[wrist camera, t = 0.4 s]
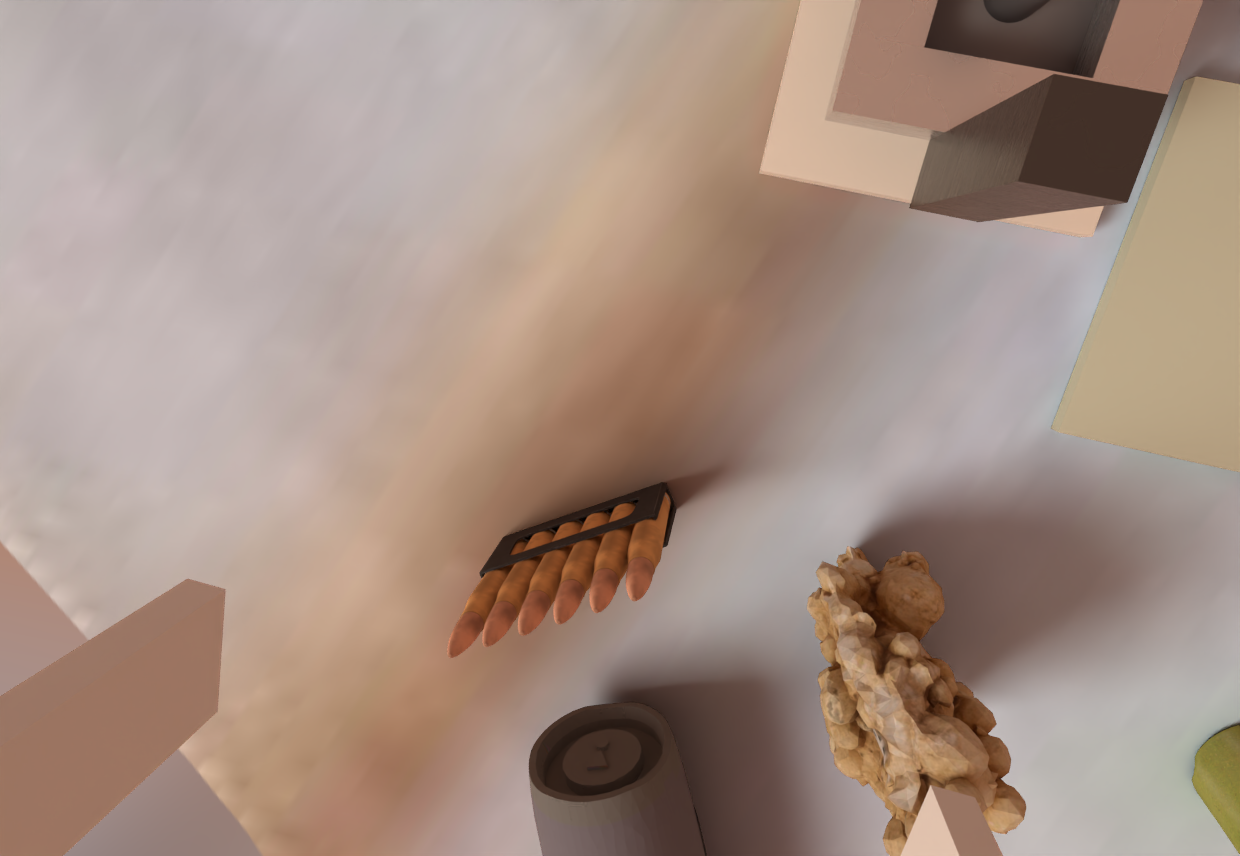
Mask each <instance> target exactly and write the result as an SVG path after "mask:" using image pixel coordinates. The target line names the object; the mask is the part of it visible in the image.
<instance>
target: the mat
mask: <svg viewBox="0 0 1240 856" xmlns="http://www.w3.org/2000/svg"><path fill="white" fill-rule="evenodd" d="M1051 429H1053V430H1055V431H1057V432H1060V433H1064V434H1069V435H1073V436H1078V437H1083V438H1087V439H1092V440H1096V441H1101V442H1105V443H1110V444H1114V445H1119V446H1123V447H1128V448H1132V449H1137V450H1141V451H1146V452H1151V453H1155V454H1160V455H1164V456H1169V457H1173V458H1178V459H1182V460H1187V461H1191V462H1196V463H1200V464H1205V465H1209V466H1214V467H1219V468H1223V469H1228V470H1232V471H1237V472H1240V84H1236V83H1230V82H1225V81H1219V80H1213V79H1208V78H1202V77H1197V76H1196V77H1193V78H1190V79H1188V80H1185V81H1184V83H1183V86H1182V88H1181V91H1180V93H1179V96H1178V99H1177V101H1176V104H1175V106H1174V109H1173V112H1172V114H1171V117H1170V119H1169V122H1168V125H1167V127H1166V130H1165V132H1164V135H1163V138H1162V140H1161V143H1160V146H1159V148H1158V151H1157V153H1156V156H1155V159H1154V161H1153V164H1152V166H1151V169H1150V172H1149V174H1148V177H1147V179H1146V182H1145V185H1144V187H1143V190H1142V192H1141V195H1140V198H1139V200H1138V203H1137V205H1136V208H1135V211H1134V213H1133V216H1132V218H1131V221H1130V224H1129V226H1128V229H1127V231H1126V234H1125V237H1124V239H1123V242H1122V245H1121V247H1120V250H1119V252H1118V255H1117V258H1116V260H1115V263H1114V265H1113V268H1112V271H1111V273H1110V276H1109V278H1108V281H1107V284H1106V286H1105V289H1104V291H1103V294H1102V297H1101V299H1100V302H1099V304H1098V307H1097V310H1096V312H1095V315H1094V317H1093V320H1092V323H1091V325H1090V328H1089V330H1088V333H1087V336H1086V338H1085V341H1084V344H1083V346H1082V349H1081V351H1080V354H1079V357H1078V359H1077V362H1076V364H1075V367H1074V370H1073V372H1072V375H1071V377H1070V380H1069V383H1068V385H1067V388H1066V390H1065V393H1064V396H1063V398H1062V401H1061V403H1060V406H1059V409H1058V411H1057V414H1056V416H1055V419H1054V422H1053V424H1052V427H1051Z"/></svg>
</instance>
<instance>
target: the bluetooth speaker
mask: <svg viewBox="0 0 1240 856" xmlns="http://www.w3.org/2000/svg"><path fill="white" fill-rule="evenodd" d="M529 777H530V787H531V797H532V804H533V810H534V816H535V821H536V826H537V831H538V835H539V840H540V845H541V850H542V854H543V856H707V853H706V849H705V845H704V840H703V836H702V832H701V828H700V823H699V820H698V817H697V814H696V811H695V808H694V805H693V802H692V798H691V794H690V790H689V786H688V782H687V779H686V775H685V771H684V767H683V764H682V761H681V757H680V754H679V751H678V748H677V746H676V742H675V740H674V737H673V734H672V732H671V729H670V726H669V724H668V722H667V721H666V719H665V718H664V717H663V716H662V715H661V714H660V713H659V712H658V711H656V710H655V709H653V708H651V707H649V706H647V705H644V704H641V703H636V702H627V703H613V704H603V705H594V706H587V707H583V708H580V709H577V710H575V711H572V712H571V713H569V714H567V715H565V716H563V717H562V718H560V719H559V720H557V721H556V722H554V723H553V724H552V725H550V726H549V727H548V728H547V729H546V730H545V731H544V732H543V733H542V734H541V736H540V737H539V738H538V739H537V741H536V742H535V744H534V746H533V748H532V750H531V754H530V758H529Z"/></svg>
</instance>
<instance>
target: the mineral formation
mask: <svg viewBox="0 0 1240 856" xmlns="http://www.w3.org/2000/svg"><path fill="white" fill-rule="evenodd" d="M837 563H838V567H836V566H833V565H831V564H828V563H826V562H822V563H821V565H820V566H819V568H818V570H817V571H816V574H817V577H818V579H819V582H820V584H821V586H822V588H818V590H817V591H816V592H814V593H812V594H811V596H810V597H809V598H808V605H807V610H808V611H809V613H810V614H811V616H812V617H813V618H814V619H815V620H816V624H815V636H816V637H817V638H819V639H820V640H821V641H823V642H821V643H820V647H821V652H822V654H823V655H824V657H825V658H826V660H827V661H828V662H830V663H831V665H832V667H828V668H826V669H825V670H823V671H822V672H820V673H819V677H818V682H819V685H820V687H821V694H820V701H821V707H822V711H823V715H824V717H825V723H826V728H827V732H828V733H829V734H830V739H829V745H830V749H831V752H832V753H833V754H834V764H835V765H836V766H837V768H838V769H839V770H840V771H841V772H842V773H843V774H844V775H846V776H848V777H850V778H853V779H857V780H858V781H859V782H860V784H861V785H862V786H864V785H866V784H867V783H869V784H870V786H871V787H872V788H873V789H874V792H875V794H876V795H877V796H878V797H879V798H881V799H882V800H883V801H884V802H885V807H886V808H887V809H889V810H890V813H891V815H892V819H891V820H890V821H889V823H888V825H887V827H886V830H885V833H884V837H883V841H884V845H885V848H886V852H887V853H888V854H889V855H890V856H901V853H902V851H903V849H904V846H905V844H906V842H907V839H908V837H909V835H910V832H911V830H912V828H913V825H914V823H915V821H916V818H917V816H918V813H919V811H920V809H921V806H922V804H923V802H924V799H925V797H926V795H927V792H928V790H929V788H930V785H932V786H936V787H939V788H943V789H946V790H950V791H954V792H957V793H961V794H964V795H968V796H972V797H975V798H976V801H977V803H978V805H979V807H980V809H981V811H982V813H983V815H984V817H985V819H986V821H987V824H988V826H989V828H990V830H991V831H994V832H997V833H1001V834H1007V832H1008V831H1010V830H1013V829H1016V827H1017V826H1018V825H1019V824H1020V823H1021V822H1022V821H1023V820H1024V816H1025V811H1026V804H1025V801H1024V800H1023V798H1022V797H1021V795H1020V794H1019V793H1018V792H1017V791H1016V789H1015V788H1014V787H1012V786H1009V785H1007V784H1006V783H1005V782H1003V781H1002V780H1001V778H1002V777H1004V776H1005V775H1006V774H1007V773H1009V769H1010V764H1011V758H1010V755H1009V752H1008V748H1007V747H1006V745H1005V744H1004V743H1003V742H1002V741H1001V739H1000V738H997V737H993V736H990V735H988V733H989V732H990V731H991V730H992V729H993V728H994V727H995V725H996V721H995V718H994V716H993V713H992V712H991V711H990V710H989V709H988V708H987V707H985V706H984V705H983V704H982V703H981V702H980V701H979V700H978V699H977V698H974V696H973V692H972V691H971V690H969V689H968V688H967V687H966V686H965V685H963V684H962V683H961V682H955V678H954V674H953V672H952V670H951V669H950V667H949V665H948V664H947V663H946V662H944V661H943V660H941V659H936V658H932V657H931V656H930V655H929V654H928V653H927V652H926V651H925V649H924V648H923V647H922V645H921V643H920V640H921V639H922V638H923V637H924V636H925V635H926V633H927V632H928V630H929V628H930V627H931V626H932V625H933V624H934V623H936V622H937V621H938V620H939V619H940V617H941V616H942V615H943V613H944V598H943V596H942V588H941V587H940V586H939V585H938V584H937V583H936V582H935V581H934V580H933V579H932V577H930V576H929V564H928V563H927V561H926V560H925V558H924V557H923V556H922V555H921V554H920V553H919V552H918V551H917V552H906V551H902V554H901V556H895V557H892V558H890V559H888V561H887V562H886V564H885V566H884V568H883V570H882V571H879V572H878V571H877V570H876V569H875V568H873V567H872V566H871V565H870V564H869V562H868V560H867V558H866V557H865V555H864V553H863V552H862V550H861V549H859V548H855V549H854V548H852V547H847V551H846V554H842V555H839V556H838V559H837Z"/></svg>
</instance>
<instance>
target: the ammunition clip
mask: <svg viewBox="0 0 1240 856" xmlns="http://www.w3.org/2000/svg"><path fill="white" fill-rule="evenodd" d="M675 513H676V506H675V504H674V502H673V499H672V497H671V494H670V492H669V489H668V487H667V484H666V483H663V482H662V483H659V484H656V485H653V486H650V487H647V488H644V489H641V490H639V491H636V492H633V493H630V494H627V495H624V496H621V497H618V498H615V499H612V500H610V501H607V502H604V503H601V504H598V505H595V506H592V507H589V508H586V509H583V510H580V511H578V512H575V513H572V514H569V515H566V516H563V517H560V518H557V519H554V520H551V521H548V522H546V523H543V524H540V525H537V526H534V527H531V528H528V529H525V530H522V531H519V532H516V533H514V534H511V535H508V536H505V537H503V538H502V540H501V541H500V543H499V544H498V546H497V547H496V549H495V550H494V552H493V553H492V555H491V556H490V558H489V559H488V561H487V562H486V564H485V565H484V567H483V568H482V570H481V571H480V576H481V578H482V580H481V581H480V583H479V584H478V586H477V587H476V588H475V590H474V591H473V593H472V594H471V596H470V597H469V599H468V601H467V603H466V607H465V610H464V611H463V613H462V615H461V617H460V619H459V621H458V622H457V624H456V626H455V627H454V629H453V632H452V634H451V636H450V639H449V643H448V650H447V653H448V657H450V658H453V657H456V656H458V655H459V654H461V653H462V652H464V651H465V650H466V649H467V648H468V647H469V646H470V645H471V644H472V643H473V642H474V641H475V640H476V638H477V637H478V635H479V634H480V632H481V631H482V630H483V636H482V641H483V645H484V646H485V647H488V646H491V645H493V644H495V643H496V642H497V641H498V640H500V639H501V638H502V637H503V636H504V635H505V634H506V632H507V631H508V630H509V629H510V627H511V625H512V624H513V622H514V621H515V620H516V618H517V617H518V615H519V620H518V630H519V633H520V635H522V636H524V635H527V634H529V633H530V632H532V631H533V630H534V629H535V628H536V627H537V626H538V625H539V624H540V623H541V621H542V620H543V618H544V617H545V615H546V613H547V611H548V610H549V608H550V607H551V605H552V603H553V602H554V601H555V602H554V619H555V622H556V623H557V624H563V623H565V622H566V621H567V620H568V619H570V618H571V617H572V616H573V614H574V613H575V612H576V610H577V608H578V607H579V605H580V603H581V601H582V599H583V597H584V595H585V593H586V591H587V590H588V589H589V588H590V594H589V599H590V605H591V608H592V610H593V612H595V613H598V612H601V611H602V610H604V609H605V608H606V607H607V606H608V604H609V603H610V602H611V600H612V598H613V596H614V594H615V592H616V590H617V587H618V585H619V583H620V580H621V579H622V578H623V576H624V574H625V573H626V571H627V574H626V588H627V592H628V595H629V597H630V599H631V600H632V601H637V600H639V599H640V598H642V597H643V596H644V594H645V593H646V591H647V590H648V588H649V586H650V584H651V581H652V577H653V574H654V572H655V568H656V566H657V565H658V563H659V562H660V559H661V553H662V548H663V547H666V546H667V545H668V541H669V537H670V533H671V529H672V525H673V521H674V517H675ZM485 573H486V574H485ZM483 576H484V577H483ZM519 613H520V614H519Z"/></svg>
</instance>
